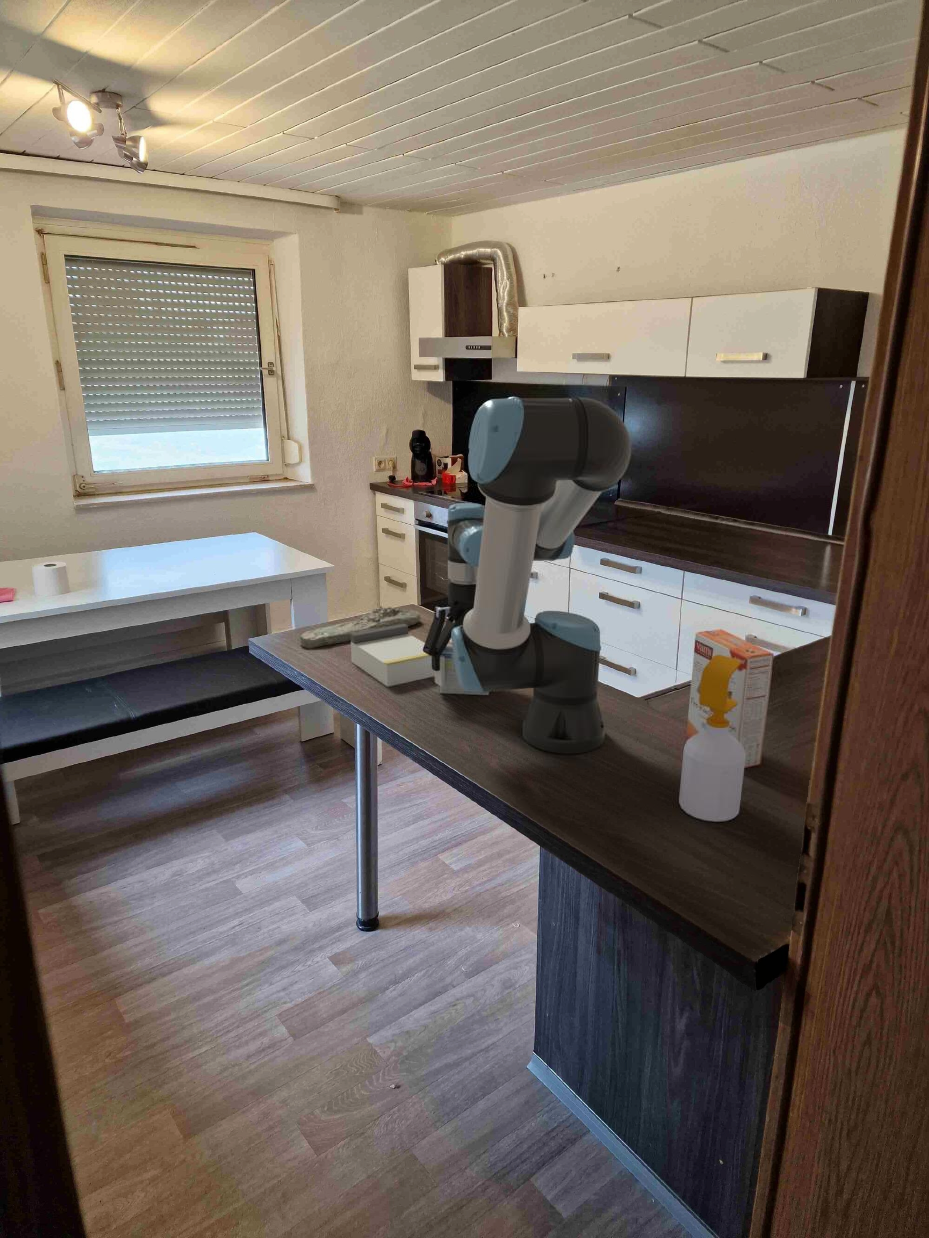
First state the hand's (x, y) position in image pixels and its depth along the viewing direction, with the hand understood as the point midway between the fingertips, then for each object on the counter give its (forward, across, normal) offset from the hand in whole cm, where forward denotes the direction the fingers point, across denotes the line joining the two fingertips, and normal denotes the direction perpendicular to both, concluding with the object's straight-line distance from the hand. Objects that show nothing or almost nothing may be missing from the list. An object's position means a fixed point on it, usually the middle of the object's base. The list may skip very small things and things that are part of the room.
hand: (465, 678), depth 171 cm
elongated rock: (+3, +2, -46) cm, 46 cm away
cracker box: (+3, -23, +49) cm, 54 cm away
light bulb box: (+3, 0, 0) cm, 3 cm away
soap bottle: (+2, -6, +61) cm, 61 cm away
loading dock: (+2, +6, -19) cm, 20 cm away
